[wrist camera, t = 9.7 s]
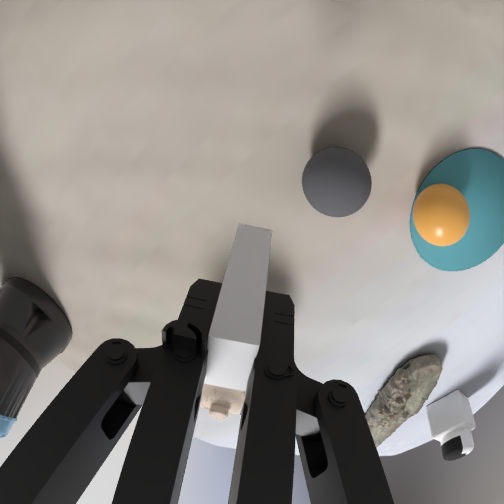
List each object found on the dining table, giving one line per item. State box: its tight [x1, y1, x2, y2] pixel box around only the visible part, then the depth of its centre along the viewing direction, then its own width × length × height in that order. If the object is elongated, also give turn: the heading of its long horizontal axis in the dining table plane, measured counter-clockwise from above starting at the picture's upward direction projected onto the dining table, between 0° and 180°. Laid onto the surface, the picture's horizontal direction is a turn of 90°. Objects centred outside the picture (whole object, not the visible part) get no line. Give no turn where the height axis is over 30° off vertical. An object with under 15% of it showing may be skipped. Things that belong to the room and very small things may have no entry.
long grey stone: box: [365, 355, 442, 447], centre depth 47 cm, size 35×5×10 cm
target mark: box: [410, 149, 504, 271], centre depth 26 cm, size 14×14×1 cm
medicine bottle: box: [426, 390, 476, 460], centre depth 42 cm, size 7×7×12 cm
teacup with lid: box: [200, 383, 246, 419], centre depth 34 cm, size 12×9×12 cm
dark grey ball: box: [302, 147, 372, 217], centre depth 24 cm, size 6×6×6 cm
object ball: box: [413, 184, 470, 246], centre depth 24 cm, size 6×6×6 cm
